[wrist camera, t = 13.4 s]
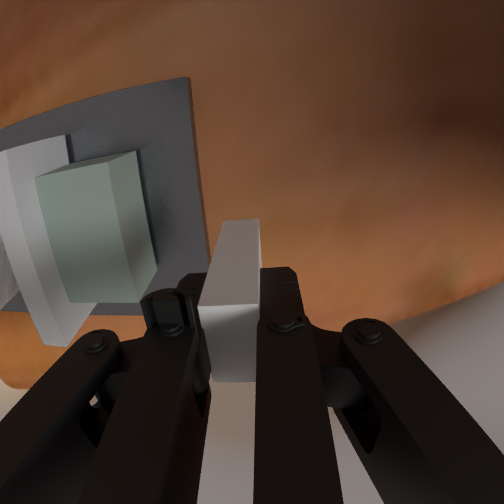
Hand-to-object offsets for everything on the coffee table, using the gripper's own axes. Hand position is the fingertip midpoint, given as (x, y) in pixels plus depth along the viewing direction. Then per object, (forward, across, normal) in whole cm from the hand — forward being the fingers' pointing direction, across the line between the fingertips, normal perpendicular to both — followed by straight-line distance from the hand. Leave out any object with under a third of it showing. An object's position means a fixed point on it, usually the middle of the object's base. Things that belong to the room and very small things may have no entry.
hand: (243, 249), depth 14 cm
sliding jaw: (+6, -10, 0) cm, 11 cm away
